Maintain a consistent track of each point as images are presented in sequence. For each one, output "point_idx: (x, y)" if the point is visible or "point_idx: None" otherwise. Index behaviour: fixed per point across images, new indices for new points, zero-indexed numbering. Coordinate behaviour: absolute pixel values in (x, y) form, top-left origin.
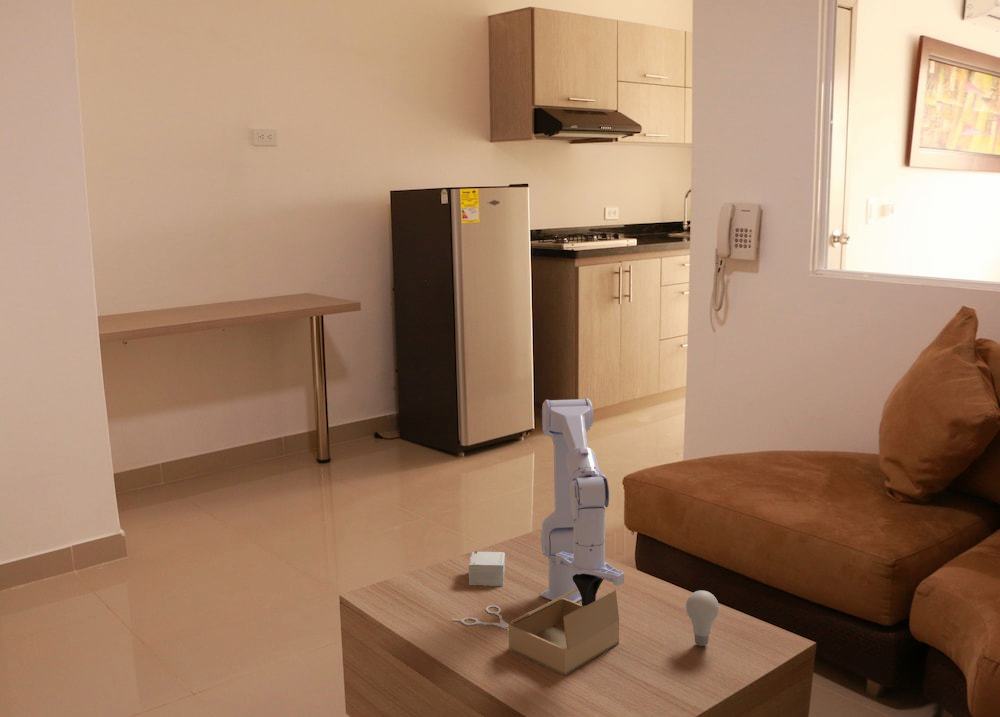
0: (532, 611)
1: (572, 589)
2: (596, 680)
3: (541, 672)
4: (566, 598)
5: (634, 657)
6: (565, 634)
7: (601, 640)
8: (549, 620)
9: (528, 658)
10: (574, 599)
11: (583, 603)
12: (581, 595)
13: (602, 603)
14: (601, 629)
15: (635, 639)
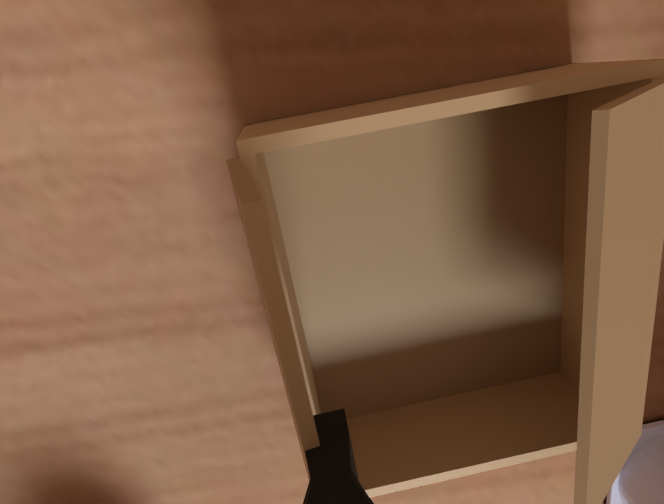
0: (605, 155)
1: (656, 498)
2: (145, 211)
3: (333, 57)
4: (645, 454)
5: (210, 415)
6: (242, 171)
7: None
8: (580, 316)
9: (457, 85)
10: (623, 470)
11: (330, 450)
12: (353, 499)
13: None
14: (290, 408)
15: (305, 478)
